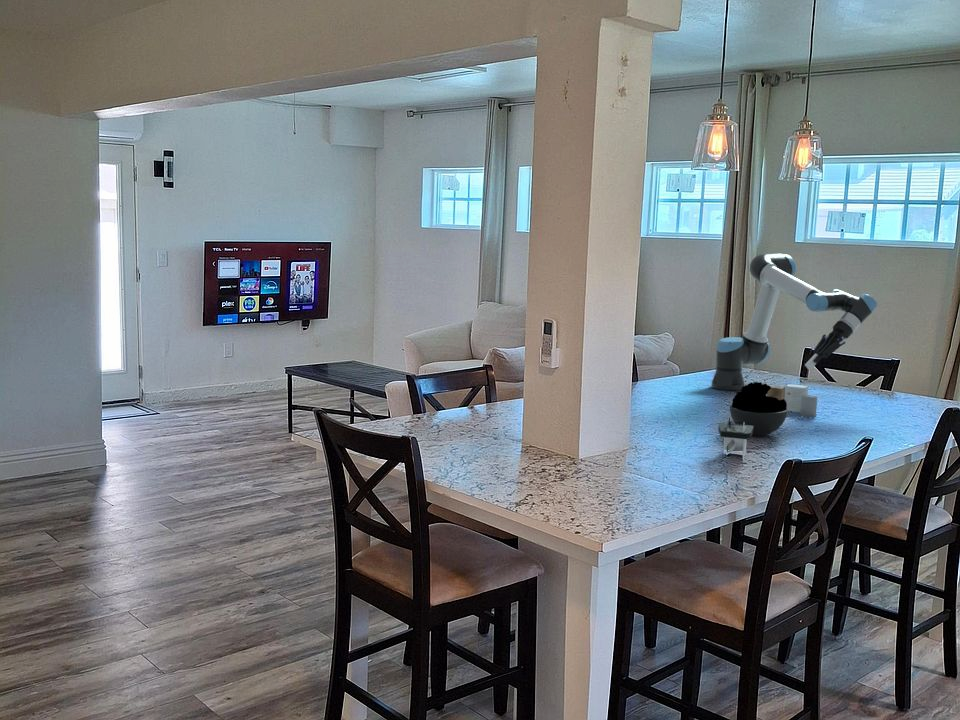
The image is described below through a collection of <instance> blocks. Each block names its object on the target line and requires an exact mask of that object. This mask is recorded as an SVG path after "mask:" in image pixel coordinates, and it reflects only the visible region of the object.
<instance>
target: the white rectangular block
mask: <svg viewBox="0 0 960 720" xmlns="http://www.w3.org/2000/svg"><path fill="white" fill-rule="evenodd" d="M817 407H818V396H817V395H816V396H815V395H803V396H801V410H800V415H799V416H800V417H801V416H803V417H802V418H805V417H816V418H817V409H818V408H817Z"/></svg>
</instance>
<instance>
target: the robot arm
mask: <svg viewBox="0 0 960 720" xmlns="http://www.w3.org/2000/svg"><path fill="white" fill-rule="evenodd" d="M796 271H797V266H796V262H795V260H794V259H793V257H792V256H791V255H789V254H786V253H761V254H758V255H756V256H755V257H753V259H752V260H751V261H750V264H749V272H750V275H751V276H752V278H753V279H755V280H756V281H758V282H760V283H761V286H760V290H759V292H758V296H757V299H756V303H755V306H754V310H753V313H752V316H751V319H750V323H749V325H748V330H747V331H745V332H743V335H742V337H739V336H738V337H737V336H736V337H735V336H731V337H723V338H720V339H719V340H718V341H717V343H716V344H717V346H716V361H715V362H716V364H715V373H714V374H713V376H712V377H713V378H712V381H711V382H710V383H711V386H710V388H712V387H713V388H712V389H714V388H715V390H719V389H720V390H719V391H730V390H736V391H737V392H738V391H741V389H742V387H743V386H745V385H746V384H745V380H744V379H745V378H744V375H743V371H742V370H743V366H744V365H757V364H761V363H764V362H765V361H766V360H767V359H768V357H769V356H770V353H771V347H770V344H769V338H768V337H767V335H768V332H769V328H770V324H771V322H772V318H773V315H774V312H775V309H776V307H777V306H776V305H777V303H778V298H779V296H780V292H783V293H785V294H787V295H789V296H791V298H794V299H796V300H798V301H799V302H802V303H804V304H805V305H806V307H807V308H808V310H809V311H812V312H816V313H820V312H829V311H830V312H831V311H832V312H833V311H836V312H837V311H841V312H843V313H844V314H843V315H842V316H841V317H840V318H839V320H837V321H836V323H835V324H834V325H833V326H832V331H831V332H830V333H828V334H827V335H826V334H823V335H821V339H820V340H819V341H818V343H817V345H816V346H815V347H814V348H813V350H812V352H813V355H812V356H811V357H810V358H809V360H808V361H806V363H805V364H804V367H805V368H806V369H807V370H809V371H811V370H812V369H813V368H814V367H815V366H816V365H817V364H818V363H819V362H820V361H821V360H822V359H824V358H825V359H827V358H829V356H831V355H832V354H833V353H834V352H835V351H837V350H838V349H839V348H840V347H841V346H843V345H845V344H846V341H845V340H847V339H849V338H850V337H851V336H852V335H853V333H854V332H855V331H856V330H857V329H858V328H859V326H861V325H862V324H863V322H864V321H865V320H866V319H867V318H868V317H869V316H870V315H871V314H872V313H873V312H874V310H876V308H877V307H878V302H877V300H876V299H875V298H874V297H873V296H871V295H870V294H868V293H867V294H866V293H863V294H862V295H860V296H855V295H852V294H850V293H848V292H846V291H844V290H840V289H837V288H835V289H833V290H831V291H830V292H824V291H821V290H820V289H818V288H816V287H814V286H813V285H810V284H808V283H806V282H804V281H802V280H800V279H799V278H797V277H795V274H796Z"/></svg>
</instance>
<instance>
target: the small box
mask: <svg viewBox="0 0 960 720" xmlns="http://www.w3.org/2000/svg"><path fill="white" fill-rule="evenodd" d="M784 387H785V401H786V403H787V410H788V412H790V411H792V413H799V412H800V410H801V396H803V395H808V394H809V385H802V384H801V385H800V384H792V383H791V384H789V383H788V384H787V385H785V386H784Z"/></svg>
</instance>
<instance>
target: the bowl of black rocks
mask: <svg viewBox="0 0 960 720" xmlns="http://www.w3.org/2000/svg"><path fill="white" fill-rule="evenodd" d="M770 389H771V385H768V384H767V383H762V382H761V381H760V382H759V381H754V382H749V383H748V384H745V386H743V387H742V389H741V390H740V391H737V392H736V393H735V395H734V397H733V398H732V401H731V402H732V404H730V405H729V412H730V416H731V419H732V422H734V424H736V422H742V423H739V424H743V423H744V425H750V426H754V428H753V434H754V435H753V436H758V435H760V436H765V435H770V434H771V433H772V434H773V433H774V432H776V431H777V430H778V429H780V427H781V426H782V425H783V424H784V422H785V421H786V418H787V416H788V412H789V411H788V410H787V403H786V401H785V400H784V399H782V400H778V398H775V397H768V396H767V393H768V391H769V390H770ZM737 424H738V423H737ZM739 424H738V425H739Z"/></svg>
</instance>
